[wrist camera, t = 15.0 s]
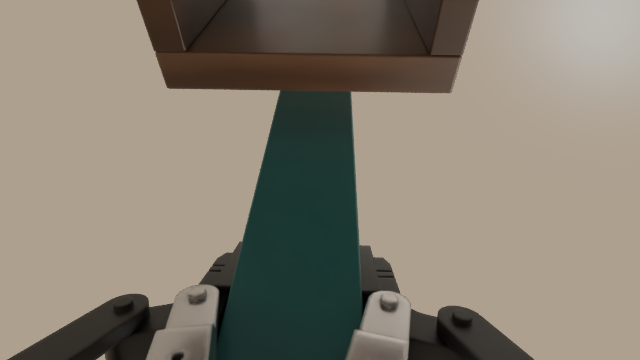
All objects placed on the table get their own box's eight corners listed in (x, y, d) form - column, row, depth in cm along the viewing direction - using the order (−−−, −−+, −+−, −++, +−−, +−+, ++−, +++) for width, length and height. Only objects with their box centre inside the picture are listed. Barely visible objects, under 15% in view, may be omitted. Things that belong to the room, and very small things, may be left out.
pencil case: (209, 366, 9) (231, 400, 11) (366, 372, 9) (357, 405, 11) (293, 37, 25) (295, 77, 27) (348, 38, 24) (345, 78, 27)
